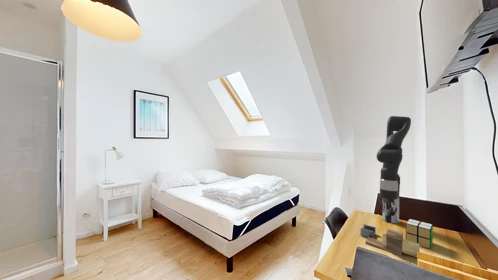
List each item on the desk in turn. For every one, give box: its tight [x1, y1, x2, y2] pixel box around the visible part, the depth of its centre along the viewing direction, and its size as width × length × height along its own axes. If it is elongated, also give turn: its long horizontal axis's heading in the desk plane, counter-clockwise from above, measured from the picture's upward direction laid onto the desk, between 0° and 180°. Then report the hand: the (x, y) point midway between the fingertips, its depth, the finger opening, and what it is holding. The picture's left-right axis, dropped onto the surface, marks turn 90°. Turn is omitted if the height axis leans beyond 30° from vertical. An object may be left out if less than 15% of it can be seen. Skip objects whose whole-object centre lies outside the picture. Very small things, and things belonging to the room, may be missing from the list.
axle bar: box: [381, 233, 420, 258], centre depth 93 cm, size 4×14×5 cm, turn 47°
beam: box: [365, 228, 404, 257], centre depth 98 cm, size 7×15×9 cm, turn 47°
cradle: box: [360, 224, 377, 239], centre depth 110 cm, size 8×6×4 cm
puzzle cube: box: [405, 218, 434, 250], centre depth 103 cm, size 10×10×10 cm
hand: (388, 222), depth 96 cm, fingers closed
